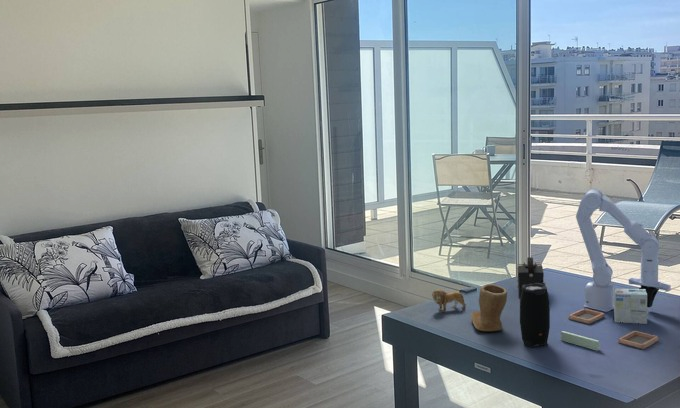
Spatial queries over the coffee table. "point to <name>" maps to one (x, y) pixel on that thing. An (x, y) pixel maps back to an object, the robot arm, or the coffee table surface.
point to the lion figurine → (447, 298)
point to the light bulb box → (630, 305)
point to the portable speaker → (534, 314)
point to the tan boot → (490, 308)
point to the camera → (529, 274)
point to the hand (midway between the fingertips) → (648, 306)
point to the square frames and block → (589, 317)
